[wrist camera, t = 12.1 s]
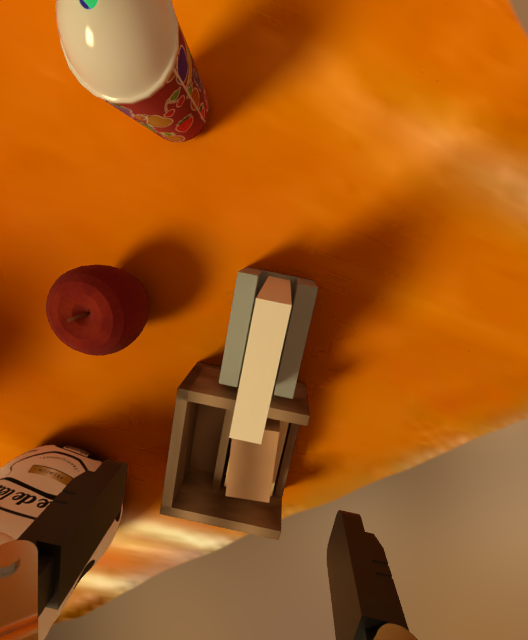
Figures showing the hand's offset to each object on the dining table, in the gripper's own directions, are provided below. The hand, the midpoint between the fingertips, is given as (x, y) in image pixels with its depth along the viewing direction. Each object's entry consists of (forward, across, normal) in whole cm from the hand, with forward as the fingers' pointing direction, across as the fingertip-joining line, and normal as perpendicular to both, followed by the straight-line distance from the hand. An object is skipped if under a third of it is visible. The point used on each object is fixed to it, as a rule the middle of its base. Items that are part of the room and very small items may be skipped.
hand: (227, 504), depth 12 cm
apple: (+29, +18, +1) cm, 34 cm away
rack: (+29, +1, +15) cm, 33 cm away
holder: (+29, 0, 0) cm, 29 cm away
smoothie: (+29, +14, -21) cm, 39 cm away
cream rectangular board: (+28, 0, 0) cm, 28 cm away
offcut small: (+25, -1, +14) cm, 29 cm away
